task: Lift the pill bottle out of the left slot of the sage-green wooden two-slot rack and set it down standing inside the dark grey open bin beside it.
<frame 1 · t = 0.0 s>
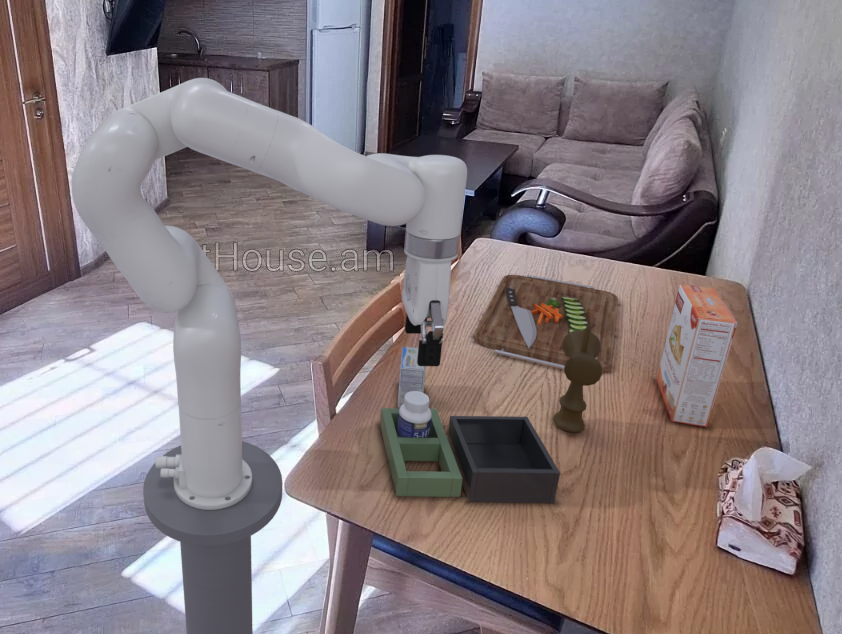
hand: (421, 348, 98), 20 cm above the table, tool pointing down, fingers open, 9 cm apart
chopping board: (549, 320, 150), on the table
cracker box: (678, 404, 119), on the table
rack: (416, 458, 105), on the table
medicine box: (409, 398, 121), on the table
pill bottle: (412, 443, 109), resting in rack
kendama: (568, 426, 113), on the table
dark grey open bin: (497, 471, 102), on the table
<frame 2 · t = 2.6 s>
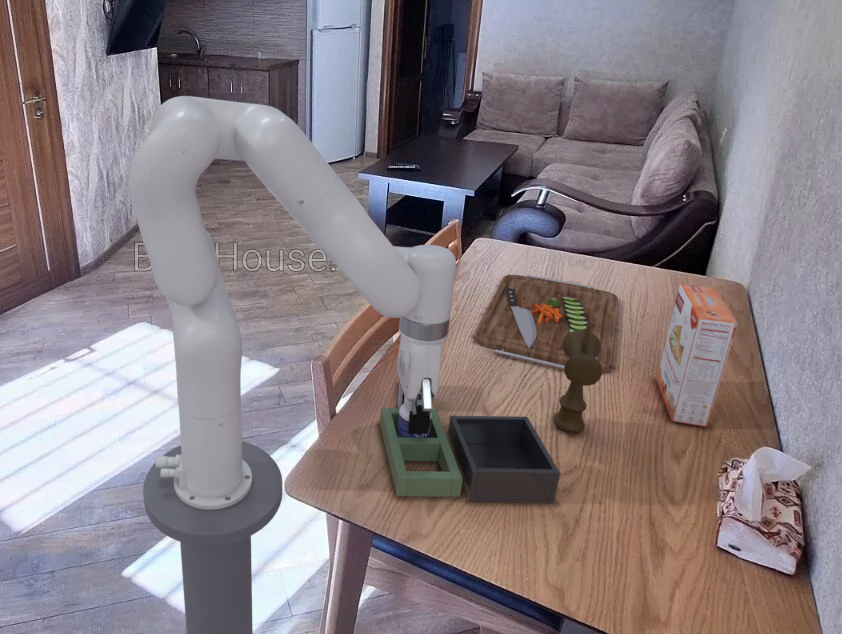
hand: (414, 420, 107), 4 cm above the table, tool pointing down, fingers closed on pill bottle, 5 cm apart
pill bottle: (412, 443, 109), resting in rack, touching gripper
everything else where it was.
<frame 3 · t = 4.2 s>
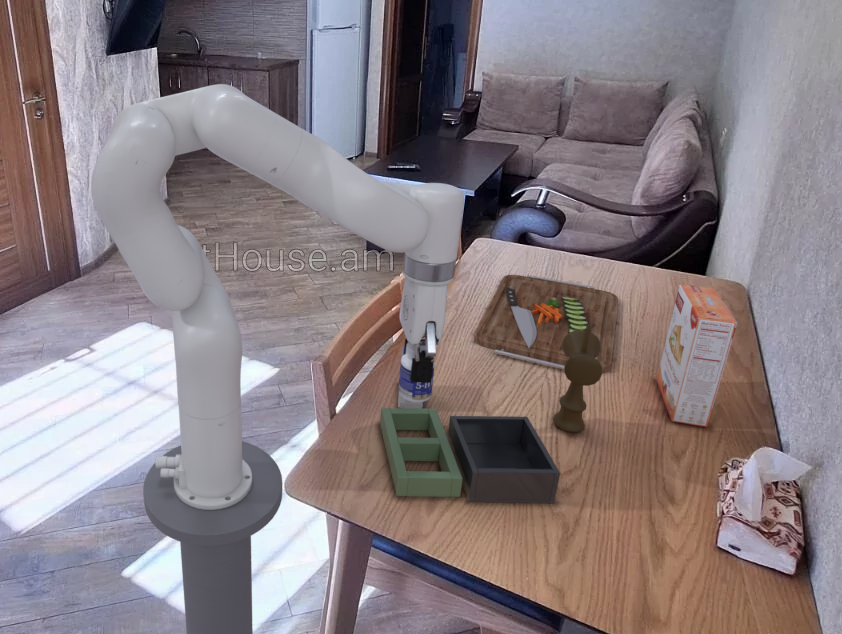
hand: (416, 370, 103), 14 cm above the table, tool pointing down, fingers closed on pill bottle, 5 cm apart
pill bottle: (414, 395, 105), point 9 cm above the table, touching gripper
everything else where it was.
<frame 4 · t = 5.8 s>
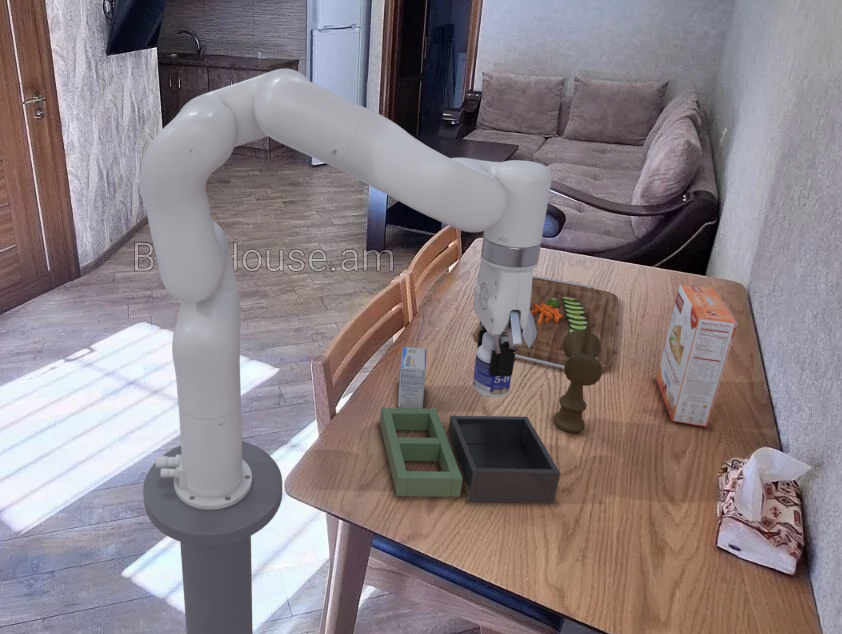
hand: (493, 363, 96), 19 cm above the table, tool pointing down, fingers closed on pill bottle, 5 cm apart
pill bottle: (490, 389, 98), point 14 cm above the table, touching gripper
everything else where it was.
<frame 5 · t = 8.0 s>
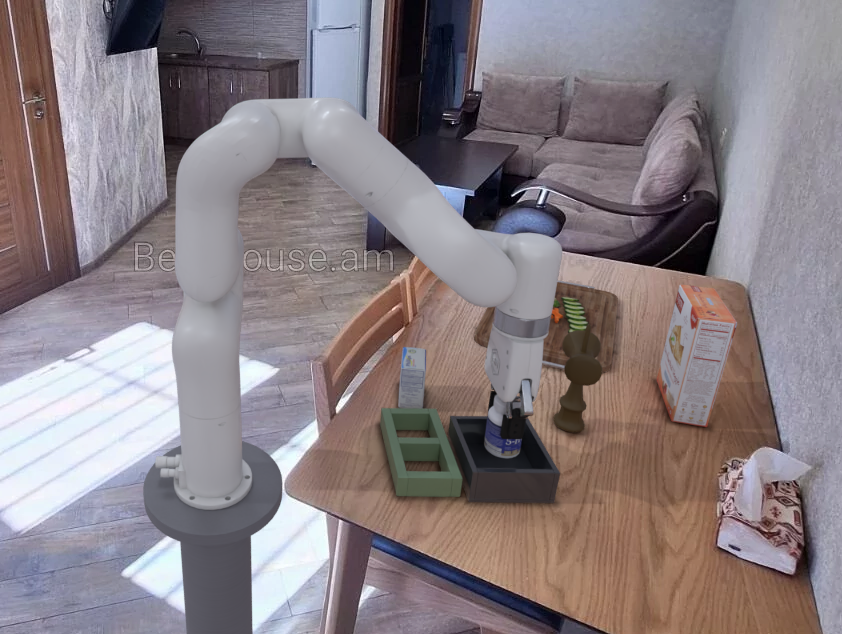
hand: (504, 424, 99), 9 cm above the table, tool pointing down, fingers closed on pill bottle, 5 cm apart
pill bottle: (501, 449, 100), point 4 cm above the table, touching gripper
everything else where it was.
when the fingers open (5 cm above the table, at t = 9.3 s): pill bottle stays where it is, resting on dark grey open bin.
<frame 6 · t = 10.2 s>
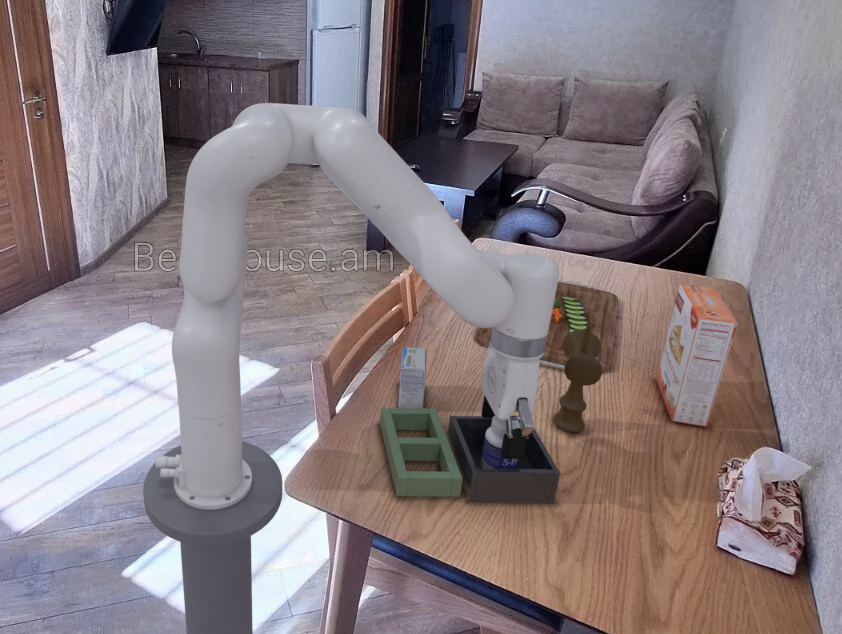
hand: (501, 436, 99), 7 cm above the table, tool pointing down, fingers open, 9 cm apart
pill bottle: (498, 469, 102), resting on dark grey open bin
everything else where it was.
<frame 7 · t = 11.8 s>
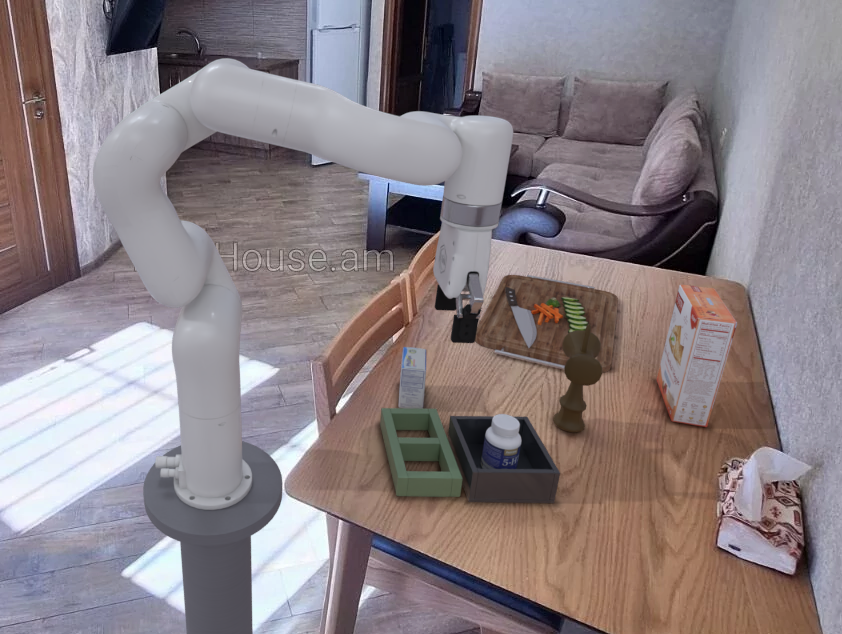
hand: (453, 325, 93), 26 cm above the table, tool pointing down, fingers open, 9 cm apart
nothing on the table moved.
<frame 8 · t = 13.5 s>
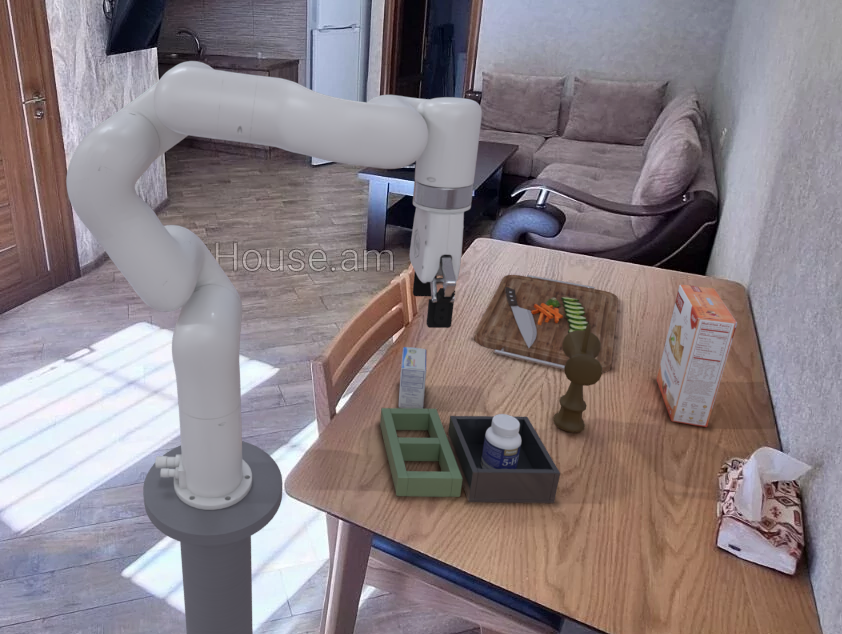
hand: (430, 310, 92), 28 cm above the table, tool pointing down, fingers open, 9 cm apart
nothing on the table moved.
at the end: pill bottle inside the target area in the dark grey open bin (0.1 cm from its centre), point 0.4 cm above the dark grey open bin's base; pill bottle tilted 0°; the gripper is holding nothing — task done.
